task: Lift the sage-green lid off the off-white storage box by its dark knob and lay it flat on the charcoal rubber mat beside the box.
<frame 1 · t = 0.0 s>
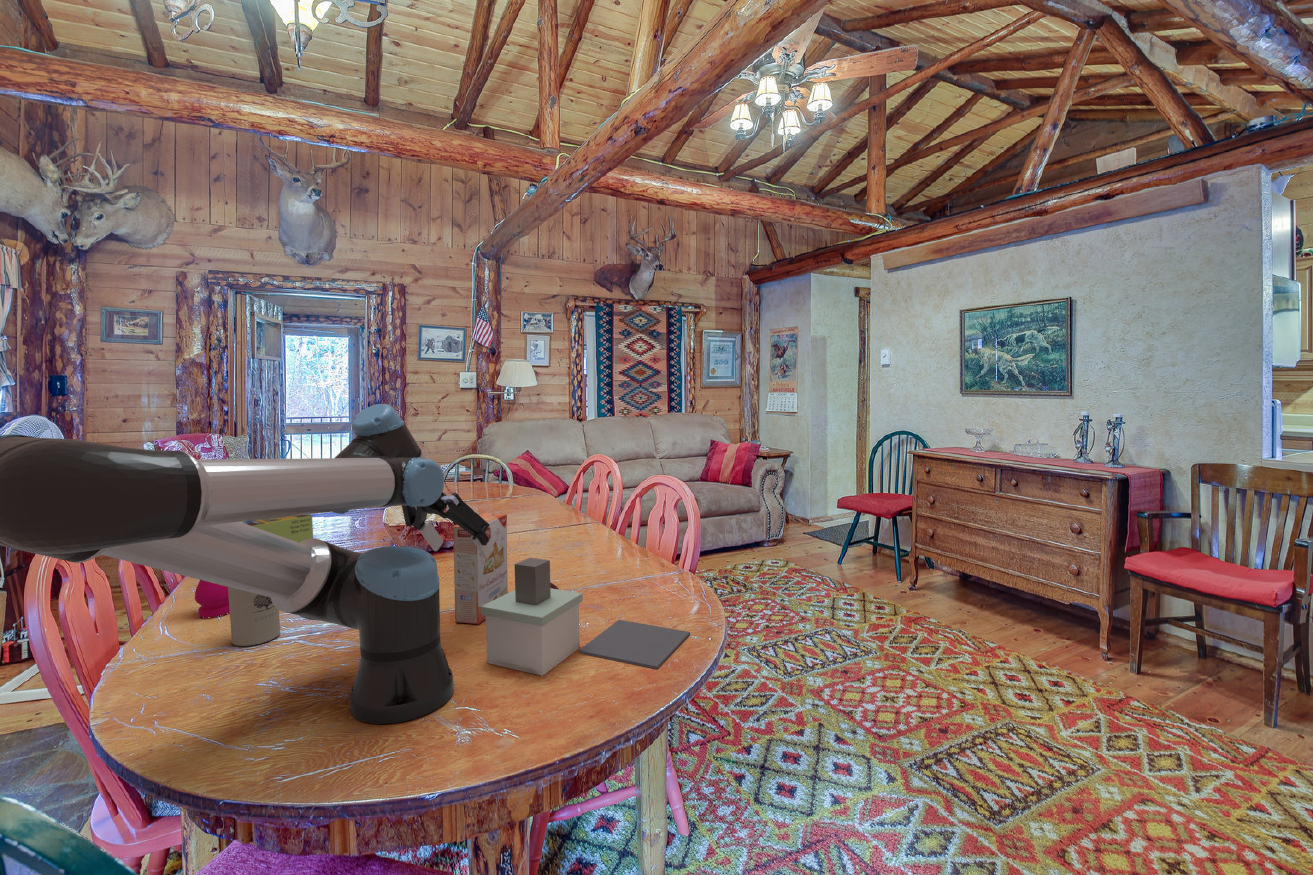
hand: (463, 549, 125), 15 cm above the table, tool tilted 35°, fingers open, 13 cm apart
lid: (533, 612, 108), point 8 cm above the table, touching storage box
cracker box: (483, 613, 130), on the table
apple: (544, 618, 127), on the table
protein box: (276, 575, 158), on the table
storage box: (534, 655, 109), on the table
pepper mill: (216, 614, 131), on the table
mat: (636, 643, 114), on the table
travel mug: (256, 639, 117), on the table
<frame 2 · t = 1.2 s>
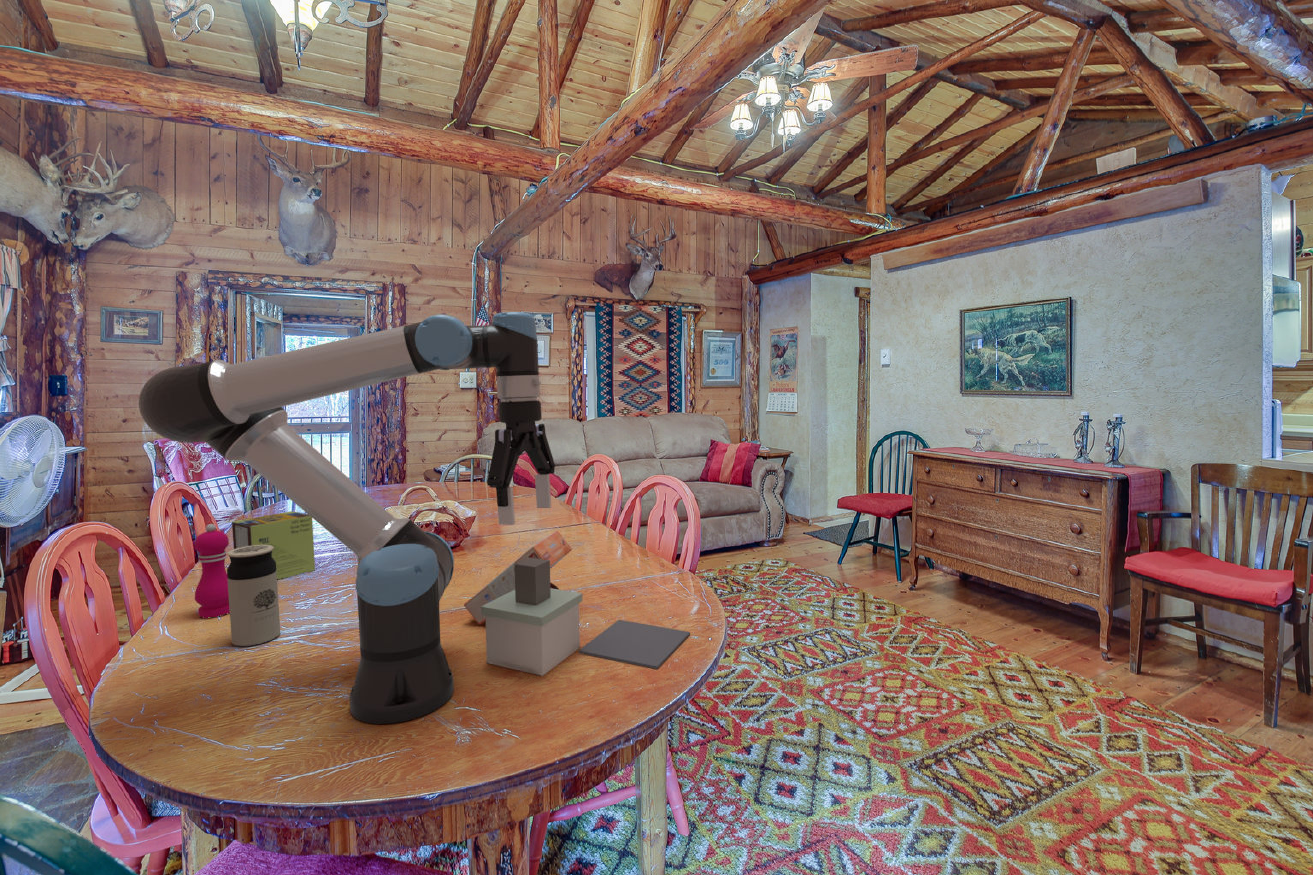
hand: (526, 515, 109), 26 cm above the table, tool pointing down, fingers open, 13 cm apart
cracker box: (486, 604, 130), point 2 cm above the table, touching apple
apple: (544, 617, 127), on the table, touching cracker box
everything else where it was.
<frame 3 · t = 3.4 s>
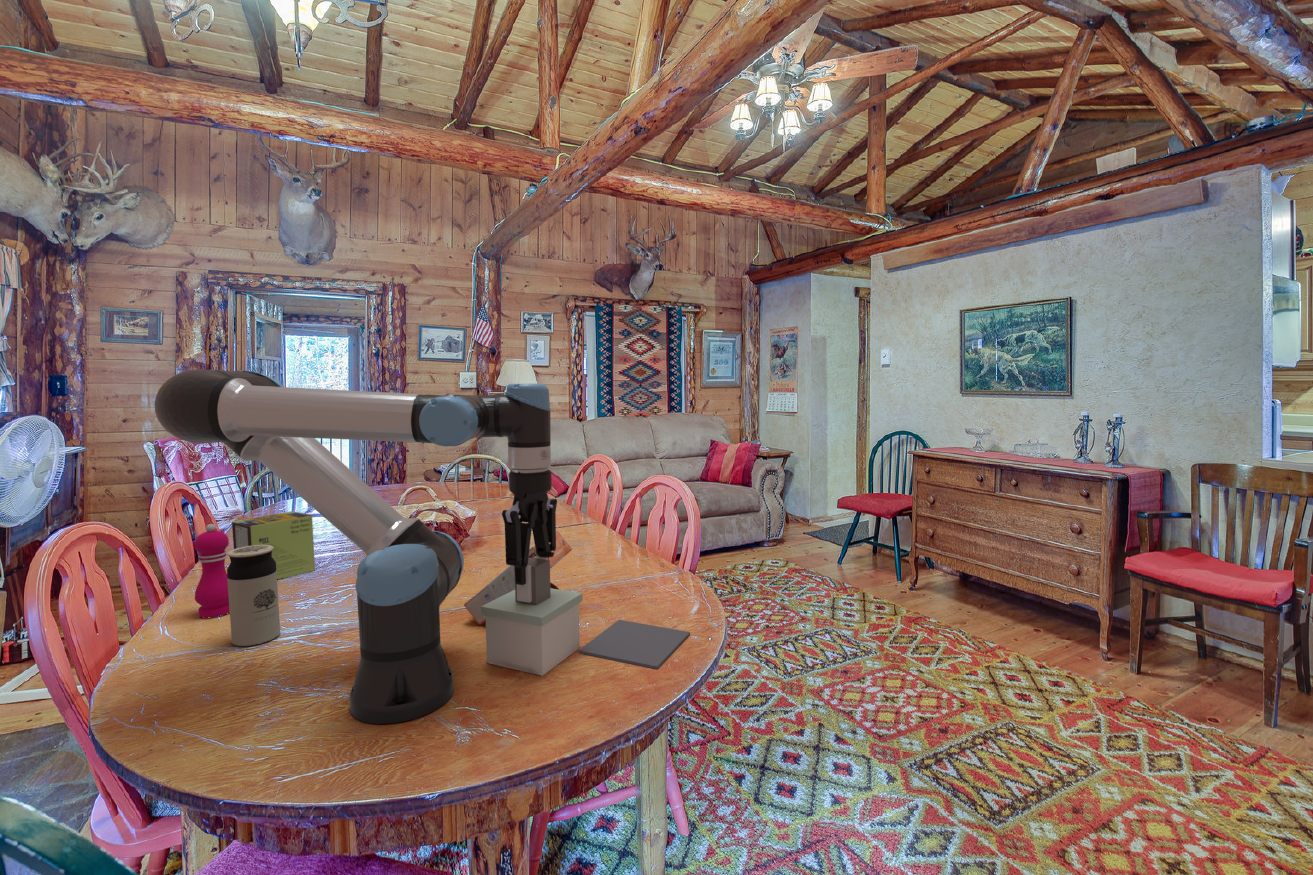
hand: (533, 595, 108), 11 cm above the table, tool pointing down, fingers closed on lid, 4 cm apart
lid: (533, 612, 108), point 8 cm above the table, touching gripper, storage box
everything else where it was.
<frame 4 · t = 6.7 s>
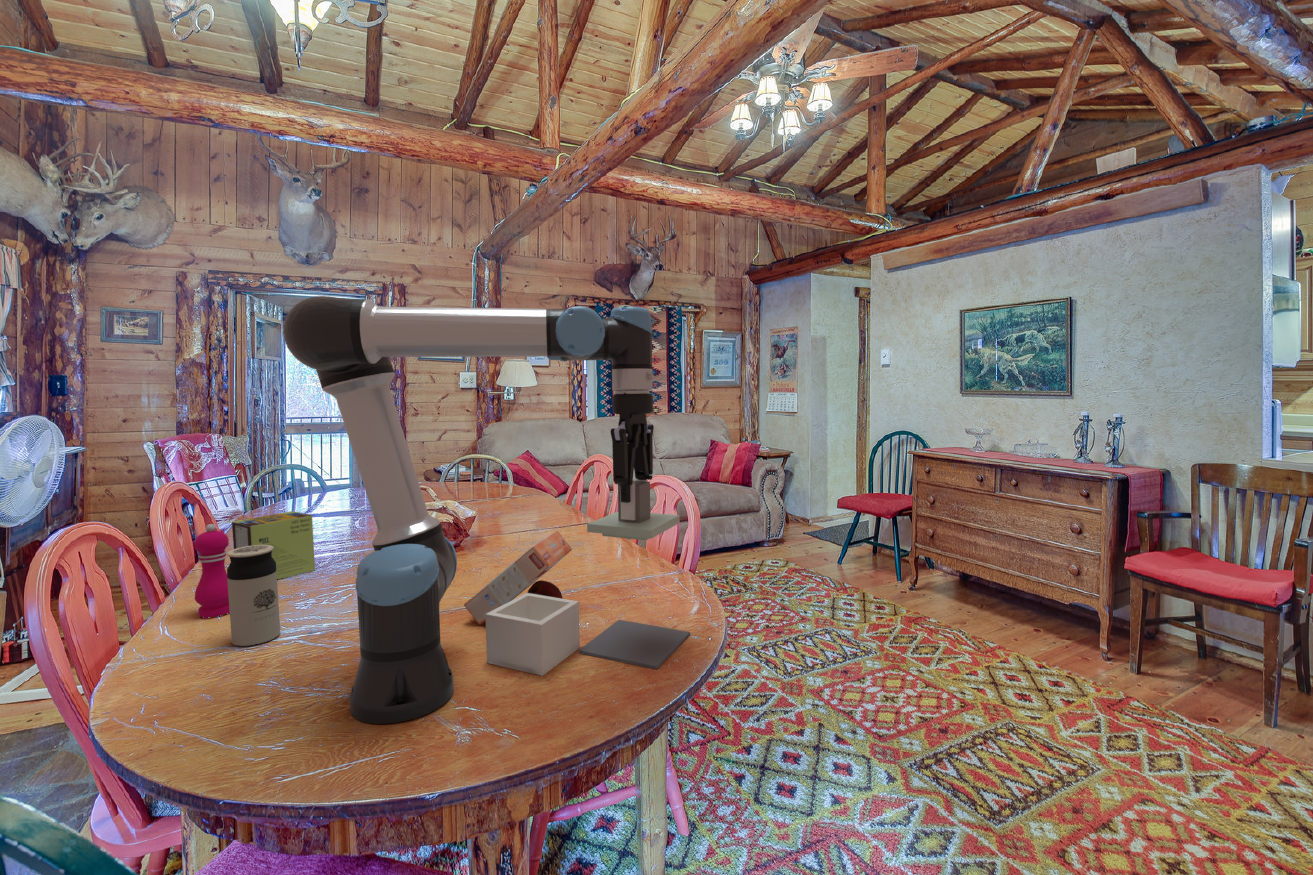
hand: (634, 516, 112), 25 cm above the table, tool pointing down, fingers closed on lid, 4 cm apart
lid: (634, 532, 112), point 22 cm above the table, touching gripper
everything else where it was.
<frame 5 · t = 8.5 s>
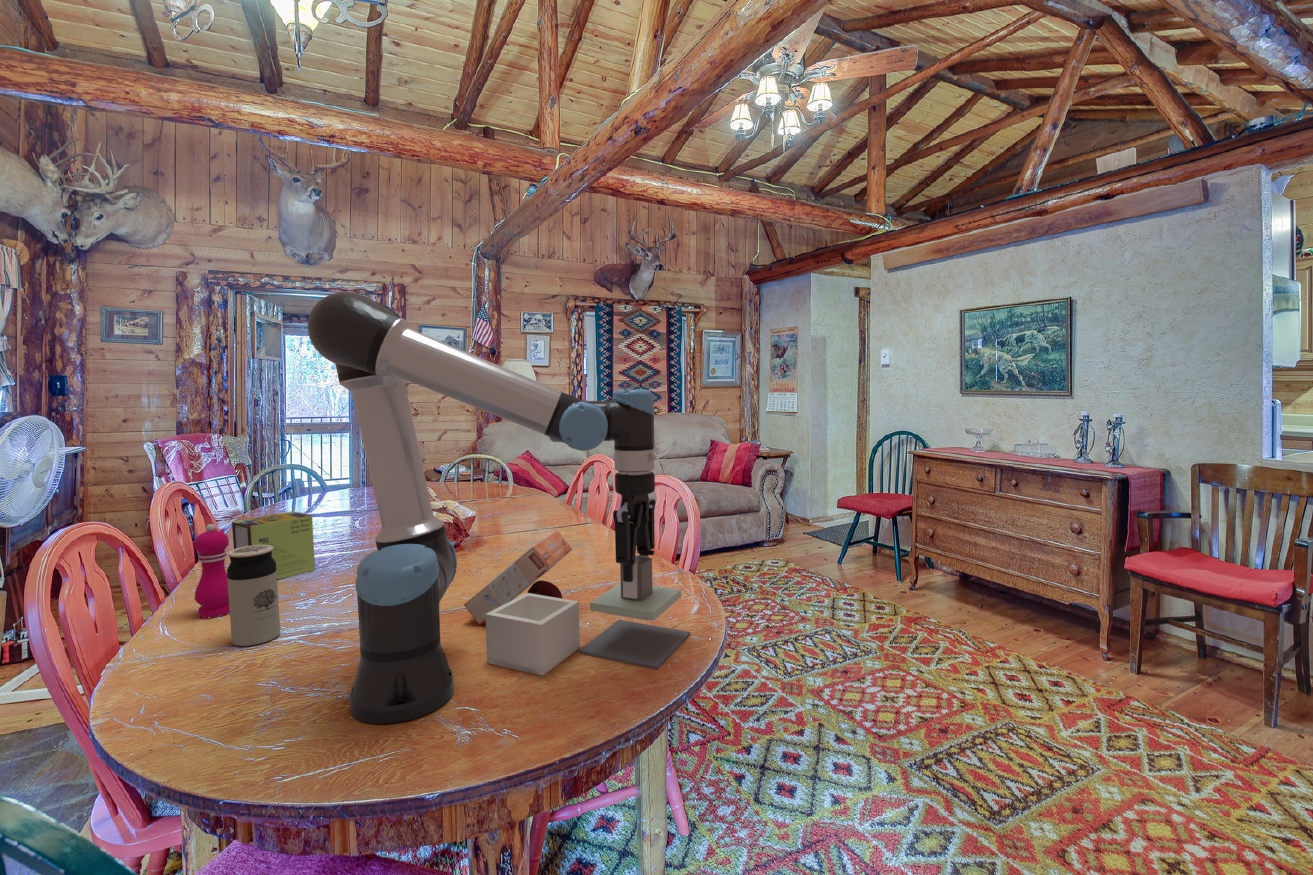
hand: (636, 592, 113), 10 cm above the table, tool pointing down, fingers closed on lid, 4 cm apart
lid: (637, 608, 113), point 7 cm above the table, touching gripper
everything else where it was.
when the fingers open (5 cm above the table, at t = 10.0 s): lid drops 1 cm, resting on mat.
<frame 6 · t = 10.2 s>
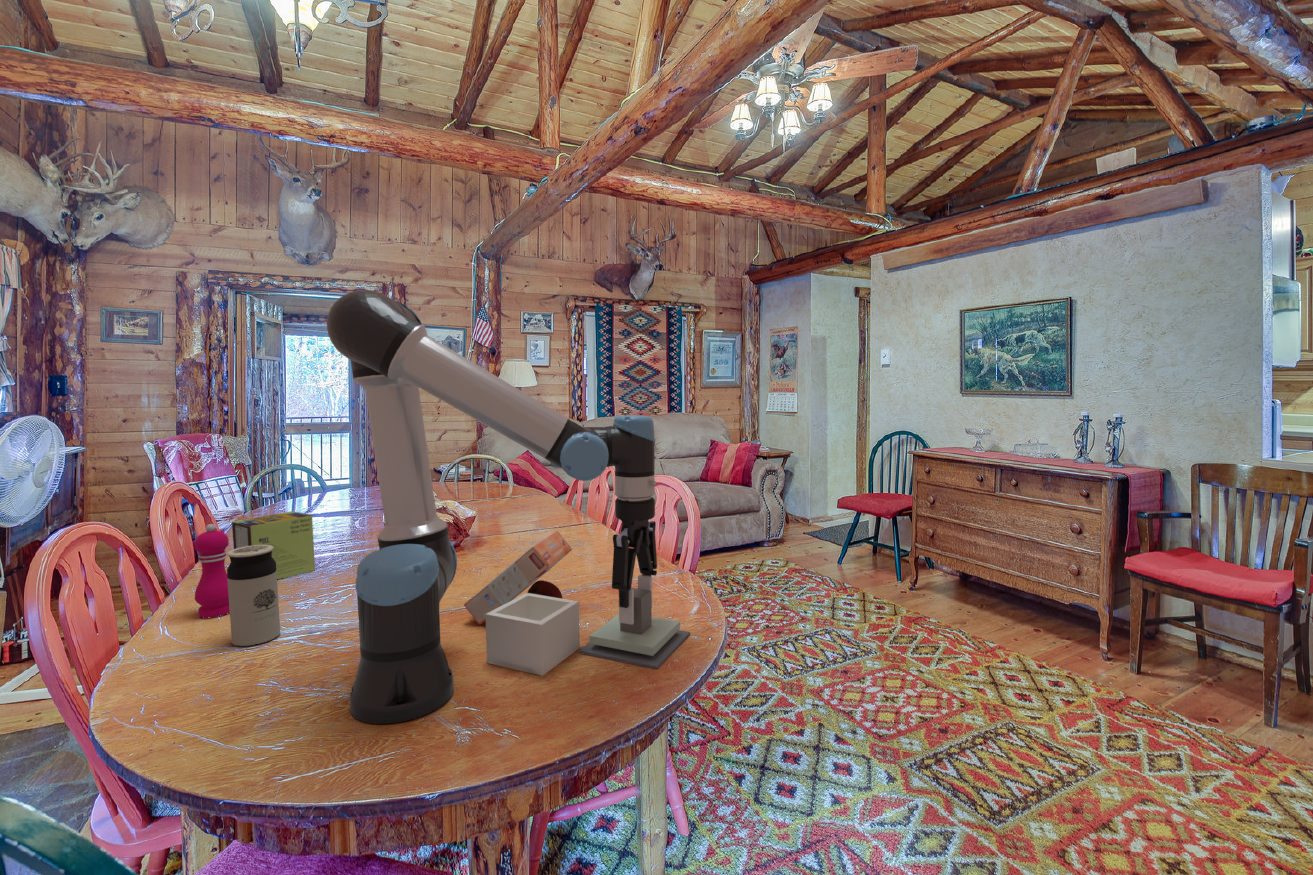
hand: (636, 614, 113), 6 cm above the table, tool pointing down, fingers open, 7 cm apart
lid: (636, 640, 114), resting on mat
everything else where it was.
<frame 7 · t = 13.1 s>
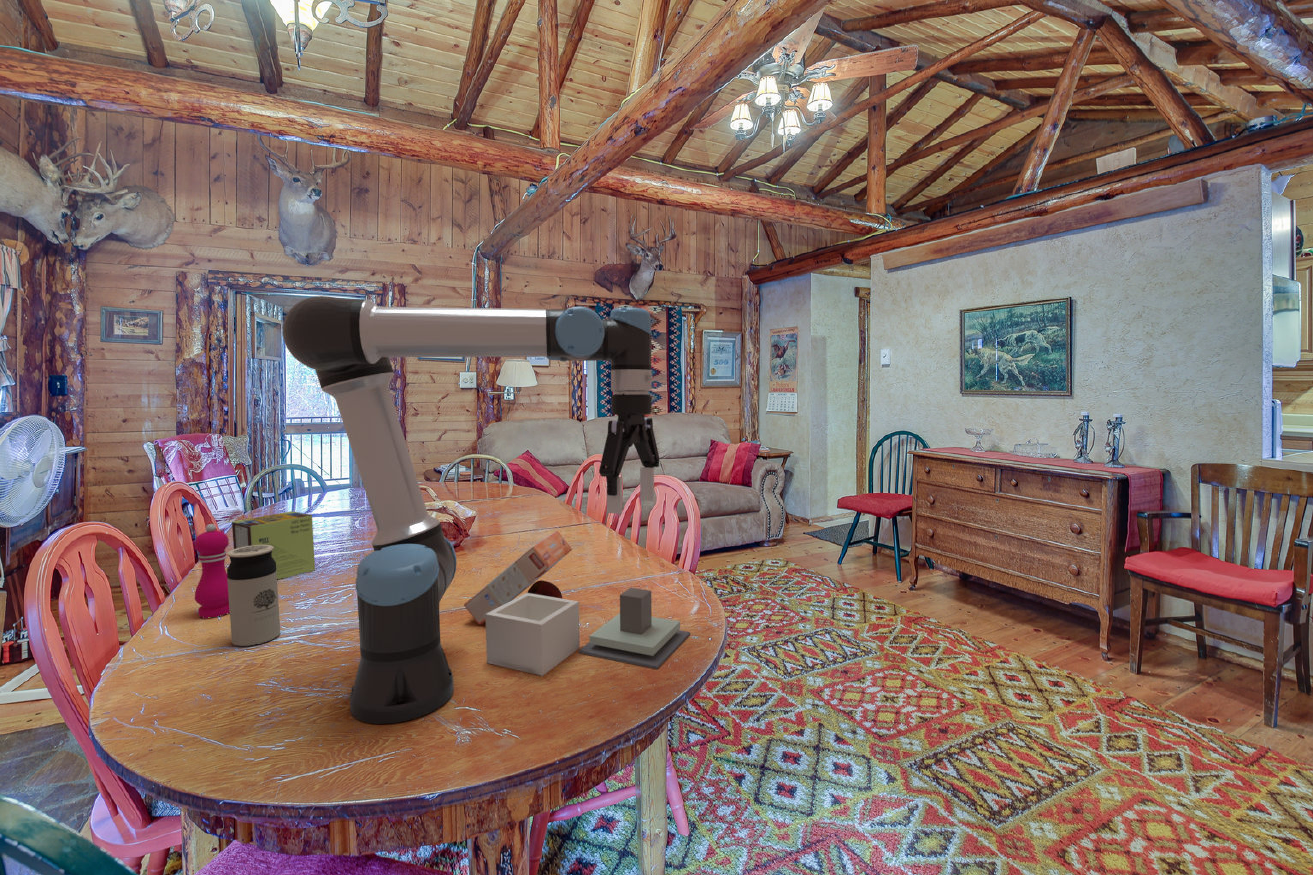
hand: (631, 506, 112), 27 cm above the table, tool pointing down, fingers open, 13 cm apart
nothing on the table moved.
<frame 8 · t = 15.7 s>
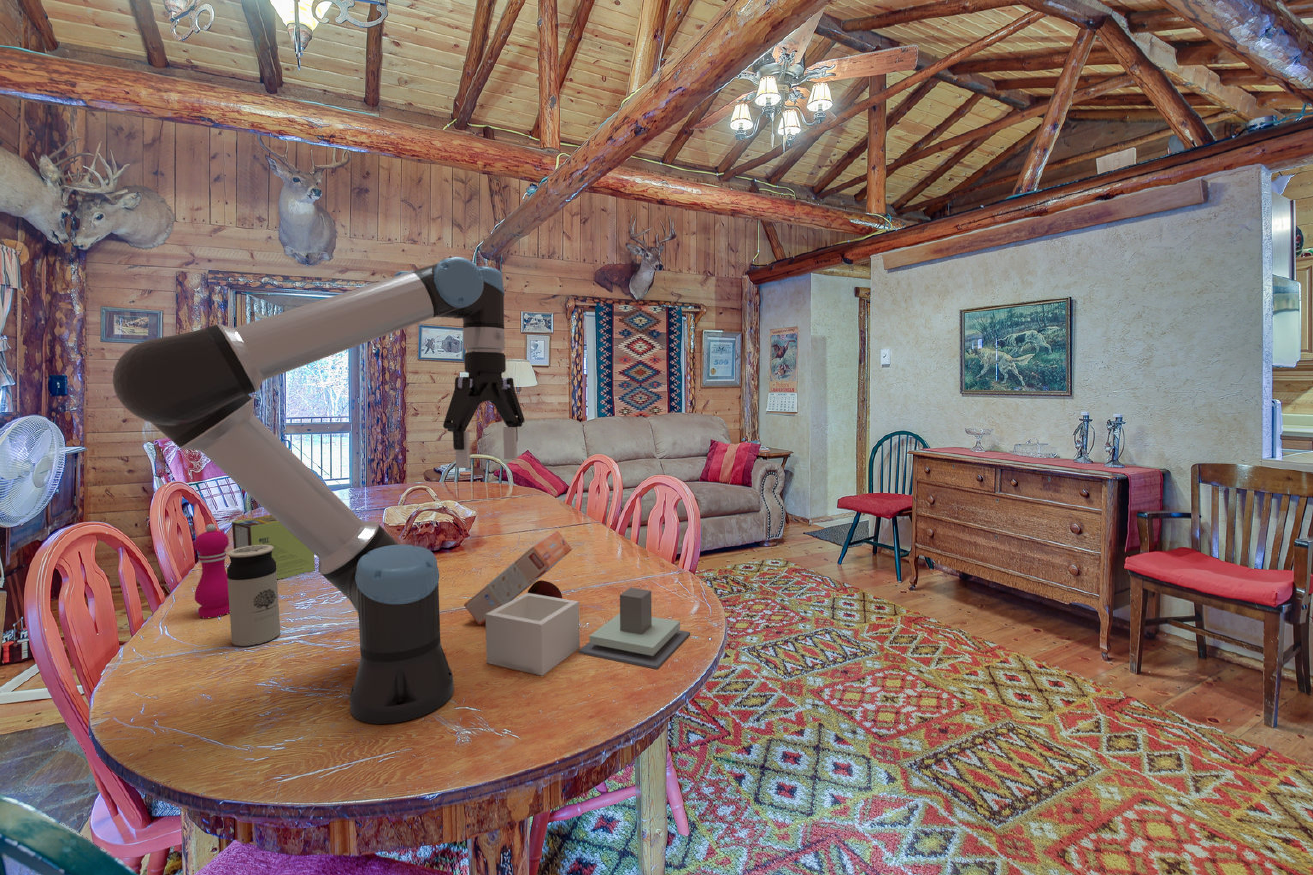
hand: (488, 463, 114), 35 cm above the table, tool pointing down, fingers open, 13 cm apart
nothing on the table moved.
at the end: lid inside the target area on the mat (0.0 cm from its centre), point 0.5 cm above the mat's base; lid tilted 0°; lid touching mat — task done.
